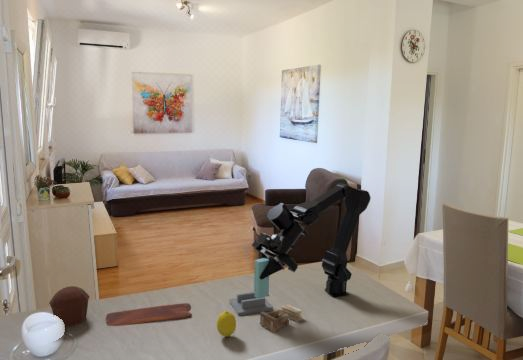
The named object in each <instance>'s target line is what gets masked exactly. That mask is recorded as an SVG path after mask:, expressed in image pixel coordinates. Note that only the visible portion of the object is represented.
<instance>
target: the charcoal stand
mask: <svg viewBox="0 0 523 360" xmlns="http://www.w3.org/2000/svg"><path fill="white" fill-rule="evenodd" d="M229 304H230V305H231V307H232V308H233V309H234V311H235V313H236V314H237V316H245V315H249V314H257V313H261V312H268V311H270V312H271V311H274V307H273V306H272V304H271V303H270V302H269V301H268V299H267V298H266V297H263V298H260V299H258V298H256V297H255V296H254V291H251V292H250V291H249V292H242V293H237V294H236V297H235V298H230V299H229Z"/></svg>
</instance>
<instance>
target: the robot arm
mask: <svg viewBox="0 0 523 360" xmlns="http://www.w3.org/2000/svg"><path fill="white" fill-rule="evenodd" d="M342 199H344V205H345V213H344V215H343V217H342V218H343V219H342V221H341V224H340V227H339V229H338V233H337V236H336V238H335V241H334V243H333V246H332V248H331V249H329V250H325V251H324V252H323V253H324V254H323V257H322V259H321V267H322V269H323V273H324V274H325V275H327V280H326V283H325V284H326V285H325V288H324V291H325V292H326V293H327V294H328V295H330V296H331V297H332V298H336V297H337V298H338V297H344V296H348V295H349V292H348V291H347V283H348V281H349V280H351V279H352V278H351V277H352V275H353V273H352V272H351V271H350V270H349V269H348V267H347V266H348V263H349V261H348V255H347V251H348V250H349V249H348V248H349V246H350V243H351V241H352V237H353V235H354V231H355V229H356V225H357V223H358V220H359V217H360V215H361V214H363V212H365V211H366V209H367V208H368V206H369V204H370V201H371V196H370V193H369V191H368V190H365V189H360V188H355V187H352V186H350V185H349V184H345V183H336V185H335V186H334V187H332V188H331V189H329V190H328V191H326V192H324V193H322V194H321V195H320V196H318V197H316V198H315V199H313V200H311V201H309V200H308V201H304V202H302V203H299V204H296V205H295V206H294V207H293V208H291V209H289V208H288V206H287V205H286V204H285V203H282V202H280V203H279V204H278V205H275V206H273V207H272V208H270V209H269V210H268V212H267V214H266V216H267V219H268V220H269V221H270V222H271V224H273V225H274V226H275V227H276V228H277V230H279V231H280V232H279V233H273V234H272V235H270V234H267V233H264V232H262V231H261V232H259V235H258V237H257V238H258V239H257V240H254V242H253V243H252V244H251V247H252V248H253V249H254V250H255V251H257V253H258V256H259V259H262V258H267V259H268V260H269V263H268V264H267V266H266V267H265V269H264V270H263V272H262V274H261V275H260V277H259V278H260V279H261V280H262V279H264V278H266V277H268V276H269V277H270V276H271V275H273V274H275V273H277V272H280V271H281V270H283V271H284V270H285V269H286V268H285V266H287V270H288V271H291V272H292V273H295V272H296V271H297V270H298V268H299V267H298V264H299V263H298V262H296V261H295V259H293V257H291V255H289V254H288V252H289V251H290V250H293V251H294V249H295V246H294V244H295V243H296V242H297V240H298V239H299V237H300V236H301V235H302V236H306V237H307V236H308V232H307V227H306V226H312V225H313V224H314V223H315V222H316V221H317V220H318V219H320V216H321V213H323V212H324V211H326V210H327V209H328V208H330V207H332V206H334V205H335V204H336V203H338V202H339V201H341V200H342ZM301 224H304V225H306V226H304V225H301Z"/></svg>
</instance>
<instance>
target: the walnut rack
mask: <svg viewBox="0 0 523 360" xmlns="http://www.w3.org/2000/svg"><path fill="white" fill-rule="evenodd" d="M278 309H279V308H276V309H273V310H271V311H270V312H266V311H264V312H260V318H259V319H260V322H259V324H260V326H261V327H263V328H266V329H267V330H270V331H271V332H272V333H273V332H274V333H276V332H277V331H278V330H279V329H281V328H283V327H285V326H289V325H290V319H289V318H288V317H289V315H288V314H284V315H280V314H279V310H278Z"/></svg>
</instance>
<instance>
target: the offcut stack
mask: <svg viewBox="0 0 523 360" xmlns="http://www.w3.org/2000/svg"><path fill="white" fill-rule="evenodd" d="M277 309H278V310H279V315H280V316H282V315H284V314H288V315H289V317H288V320H291V321H294V322H296V323H297V322H299V321H301V320H303V319H304V316H303V315H301V314H302V310H301V309H299V308H298V307H296V306H295V307H294V306H293V305H290V304H288V303H286V304H284V305H282V306H280V307H278V308H277Z"/></svg>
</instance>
